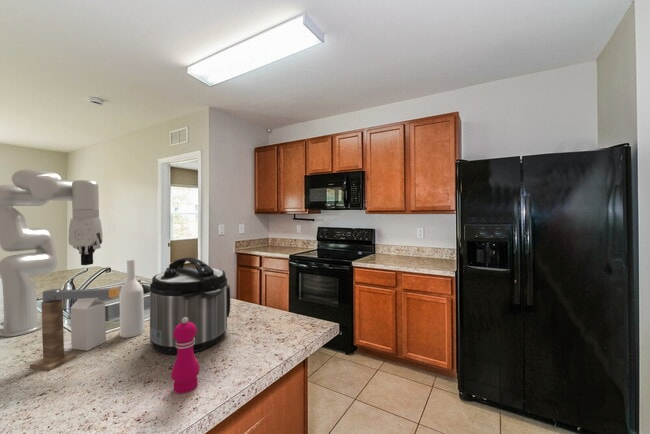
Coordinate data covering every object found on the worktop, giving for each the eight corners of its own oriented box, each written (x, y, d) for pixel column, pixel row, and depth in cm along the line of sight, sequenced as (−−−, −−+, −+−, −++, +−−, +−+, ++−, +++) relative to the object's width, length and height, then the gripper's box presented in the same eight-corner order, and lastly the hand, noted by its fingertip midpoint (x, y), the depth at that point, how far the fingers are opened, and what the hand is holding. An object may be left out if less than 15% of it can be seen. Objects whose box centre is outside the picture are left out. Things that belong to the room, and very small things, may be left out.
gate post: (50, 370, 92) (48, 305, 91) (29, 367, 93) (27, 304, 92) (76, 357, 100) (74, 297, 99) (56, 355, 101) (55, 296, 100)
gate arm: (39, 302, 93) (38, 293, 93) (49, 298, 97) (48, 289, 97) (114, 298, 97) (114, 289, 97) (120, 294, 101) (120, 286, 101)
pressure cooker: (232, 351, 104) (231, 262, 103) (140, 365, 95) (138, 268, 94) (229, 320, 132) (228, 250, 131) (158, 329, 123) (157, 254, 122)
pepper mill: (177, 379, 87) (177, 313, 86) (203, 378, 87) (202, 312, 87) (166, 395, 80) (165, 322, 79) (194, 394, 80) (193, 321, 80)
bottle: (129, 329, 123) (128, 257, 122) (148, 329, 123) (147, 258, 122) (115, 337, 115) (113, 261, 114) (134, 338, 114) (133, 261, 113)
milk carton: (87, 351, 104) (86, 298, 103) (71, 349, 105) (69, 296, 105) (106, 342, 111) (105, 292, 110) (90, 340, 112) (89, 291, 112)
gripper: (58, 214, 104) (59, 265, 105) (93, 214, 102) (94, 267, 102) (79, 214, 112) (80, 262, 112) (112, 214, 109) (113, 263, 110)
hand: (87, 264), depth 107 cm, fingers closed
